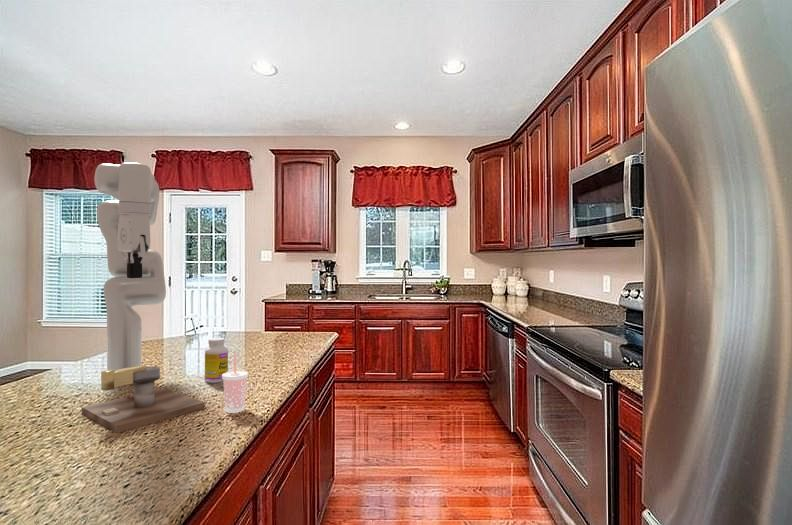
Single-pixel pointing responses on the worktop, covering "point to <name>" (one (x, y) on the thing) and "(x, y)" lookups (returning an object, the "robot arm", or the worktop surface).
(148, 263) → the robot arm
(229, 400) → the beverage cup
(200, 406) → the post base
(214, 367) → the supplement bottle
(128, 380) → the brass lever handle
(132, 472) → the worktop surface
